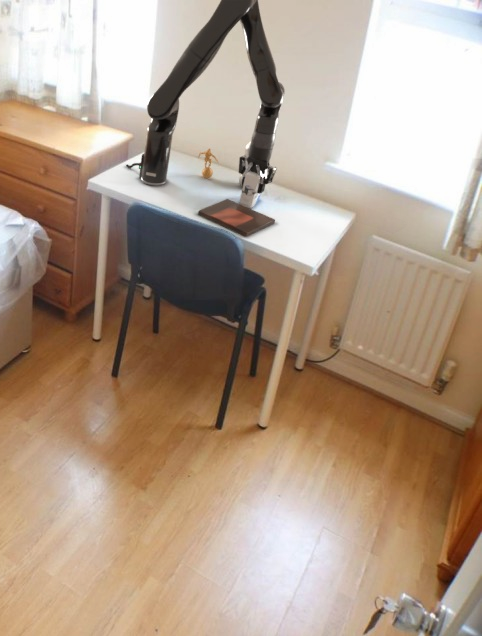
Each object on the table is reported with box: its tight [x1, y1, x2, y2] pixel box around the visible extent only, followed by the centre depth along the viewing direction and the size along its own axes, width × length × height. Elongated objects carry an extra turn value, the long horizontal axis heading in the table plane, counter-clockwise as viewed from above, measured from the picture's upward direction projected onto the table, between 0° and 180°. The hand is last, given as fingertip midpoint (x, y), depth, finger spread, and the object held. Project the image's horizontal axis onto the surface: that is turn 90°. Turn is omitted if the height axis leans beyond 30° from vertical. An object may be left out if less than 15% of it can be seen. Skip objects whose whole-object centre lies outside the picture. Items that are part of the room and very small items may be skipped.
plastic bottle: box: [238, 133, 253, 187], centre depth 258 cm, size 6×7×20 cm
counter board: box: [197, 198, 276, 238], centre depth 241 cm, size 20×16×2 cm
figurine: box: [197, 148, 219, 179], centre depth 265 cm, size 8×6×12 cm
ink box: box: [238, 170, 263, 209], centre depth 249 cm, size 9×5×12 cm, turn 148°
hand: (252, 189), depth 250 cm, fingers closed on ink box, 6 cm apart
